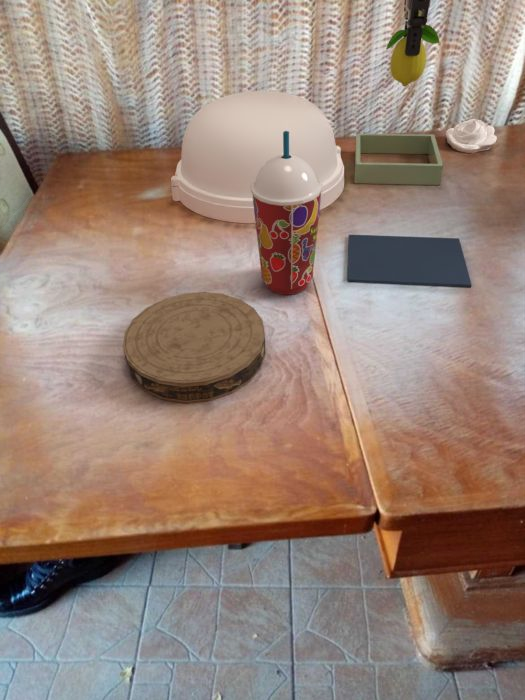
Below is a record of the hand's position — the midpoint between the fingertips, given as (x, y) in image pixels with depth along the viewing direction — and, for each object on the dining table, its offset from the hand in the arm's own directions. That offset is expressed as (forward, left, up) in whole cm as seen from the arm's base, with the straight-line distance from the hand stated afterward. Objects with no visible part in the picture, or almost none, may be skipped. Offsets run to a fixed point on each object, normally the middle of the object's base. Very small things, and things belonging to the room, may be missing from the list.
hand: (410, 50), depth 86 cm
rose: (-15, -12, -20) cm, 27 cm away
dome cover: (+24, +8, -20) cm, 32 cm away
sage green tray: (0, 0, -19) cm, 19 cm away
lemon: (0, 0, -6) cm, 6 cm away
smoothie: (+16, +39, -20) cm, 46 cm away
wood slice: (+25, +54, -20) cm, 63 cm away
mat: (0, +32, -19) cm, 37 cm away
